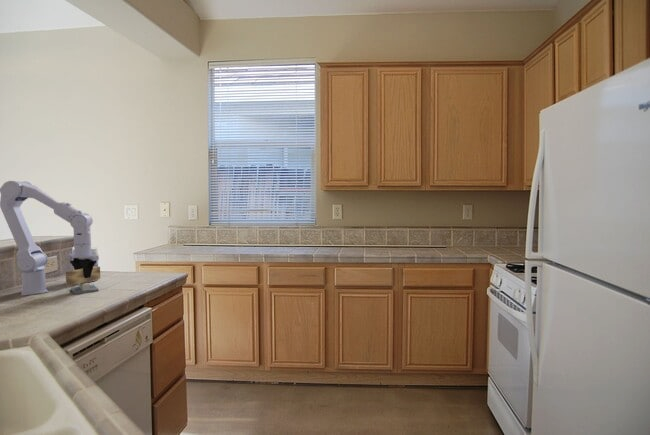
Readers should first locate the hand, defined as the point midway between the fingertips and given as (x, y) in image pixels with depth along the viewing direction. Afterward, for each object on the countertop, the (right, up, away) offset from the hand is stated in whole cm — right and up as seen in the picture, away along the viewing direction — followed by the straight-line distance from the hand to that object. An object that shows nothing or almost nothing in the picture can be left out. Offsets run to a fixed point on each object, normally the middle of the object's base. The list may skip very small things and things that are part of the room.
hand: (83, 277), depth 149 cm
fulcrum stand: (0, -5, 0) cm, 5 cm away
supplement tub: (-10, -5, +17) cm, 20 cm away
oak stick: (0, -2, 0) cm, 2 cm away
